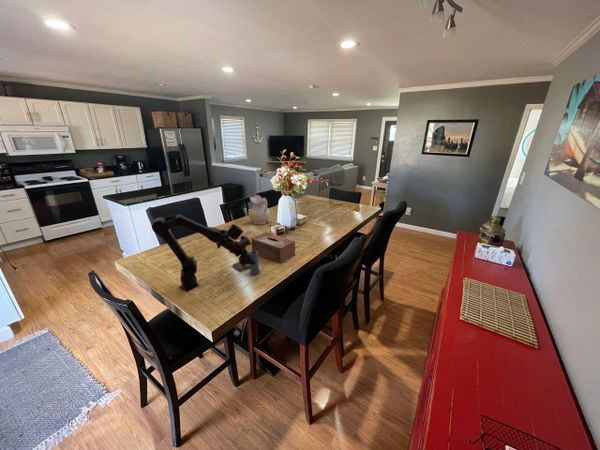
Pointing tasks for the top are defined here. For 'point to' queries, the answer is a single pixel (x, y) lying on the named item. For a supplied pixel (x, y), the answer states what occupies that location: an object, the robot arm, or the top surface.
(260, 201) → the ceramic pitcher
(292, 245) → the tissue box cover
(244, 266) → the brown plate with knob
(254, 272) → the blue sleeve
